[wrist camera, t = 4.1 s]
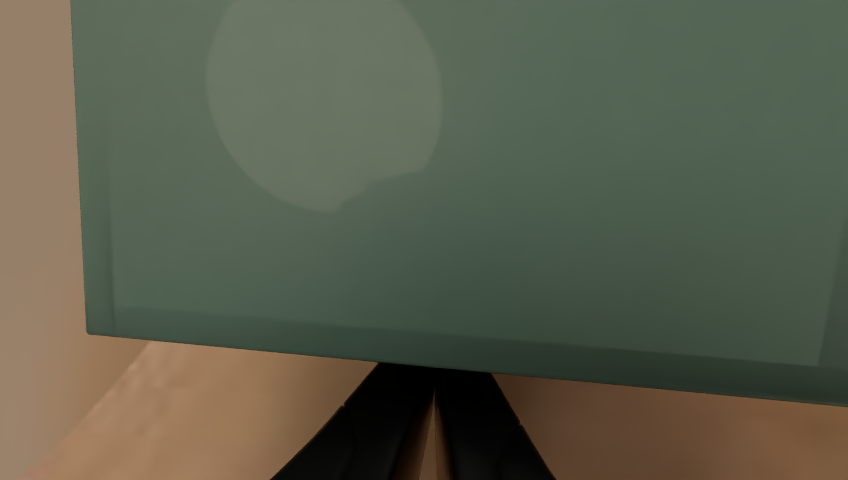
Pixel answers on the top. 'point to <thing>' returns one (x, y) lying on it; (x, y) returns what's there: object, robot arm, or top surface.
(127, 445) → the top surface
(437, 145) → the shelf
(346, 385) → the top surface
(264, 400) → the top surface
